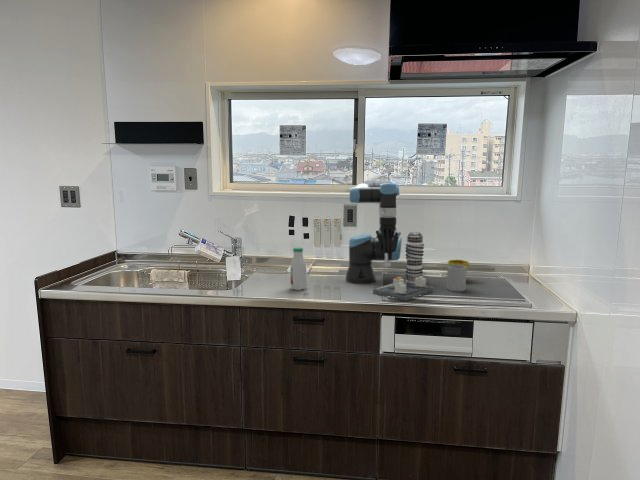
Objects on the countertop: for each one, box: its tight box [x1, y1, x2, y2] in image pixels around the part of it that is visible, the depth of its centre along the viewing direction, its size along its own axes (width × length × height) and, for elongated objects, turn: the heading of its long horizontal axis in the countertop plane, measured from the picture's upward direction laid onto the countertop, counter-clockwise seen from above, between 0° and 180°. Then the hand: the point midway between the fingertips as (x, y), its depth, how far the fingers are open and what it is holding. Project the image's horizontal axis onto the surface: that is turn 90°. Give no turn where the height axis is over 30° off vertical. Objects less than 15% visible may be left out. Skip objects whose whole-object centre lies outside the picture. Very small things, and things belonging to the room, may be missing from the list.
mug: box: [446, 265, 467, 292], centre depth 211 cm, size 12×8×11 cm
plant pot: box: [447, 259, 470, 274], centre depth 227 cm, size 10×10×10 cm
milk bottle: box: [290, 246, 308, 291], centre depth 214 cm, size 8×8×20 cm
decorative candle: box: [405, 231, 425, 283], centre depth 224 cm, size 9×9×25 cm
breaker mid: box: [392, 276, 405, 287], centre depth 207 cm, size 4×3×4 cm
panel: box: [372, 280, 434, 302], centre depth 206 cm, size 18×22×2 cm
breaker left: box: [395, 282, 406, 294], centre depth 197 cm, size 4×3×4 cm
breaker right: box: [415, 275, 427, 287], centre depth 208 cm, size 4×3×4 cm
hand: (387, 266), depth 210 cm, fingers closed
